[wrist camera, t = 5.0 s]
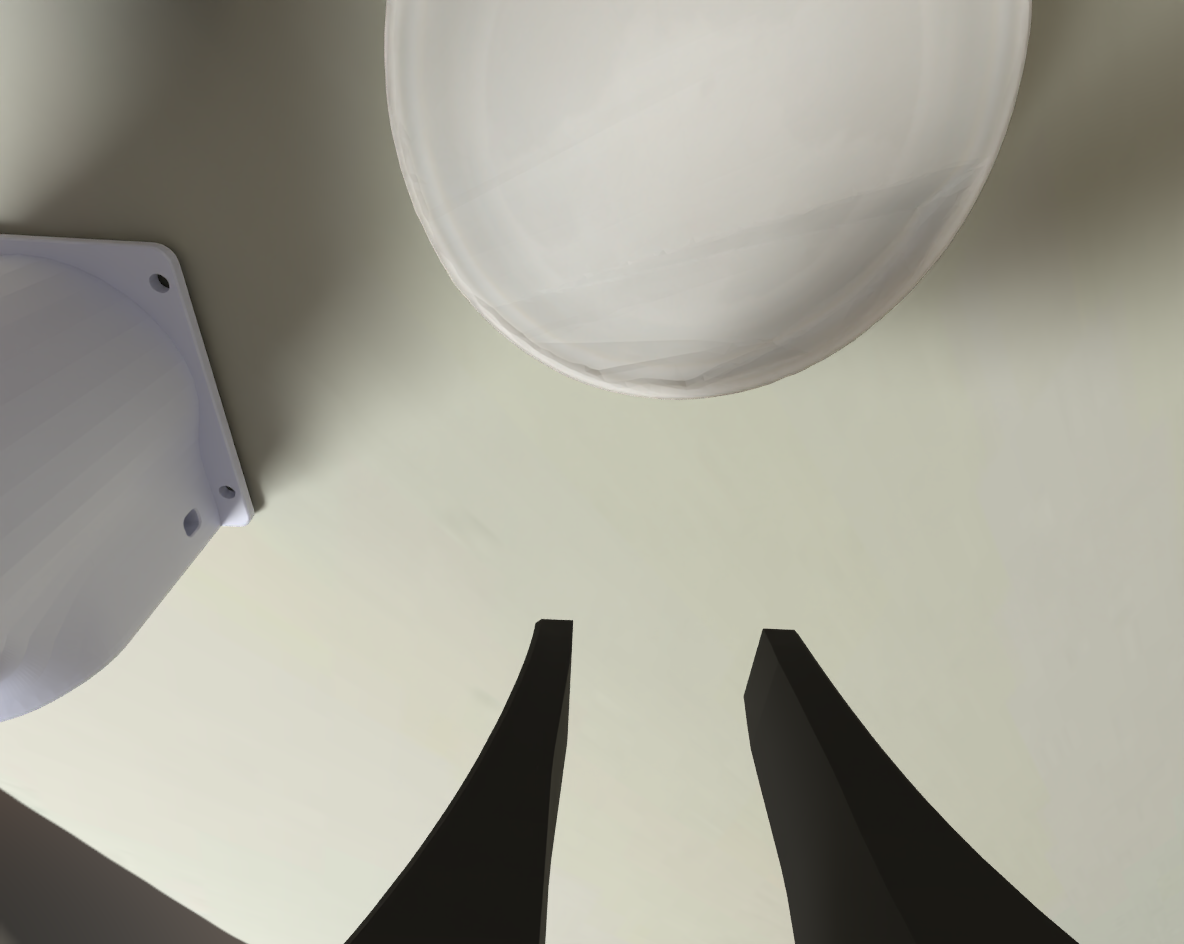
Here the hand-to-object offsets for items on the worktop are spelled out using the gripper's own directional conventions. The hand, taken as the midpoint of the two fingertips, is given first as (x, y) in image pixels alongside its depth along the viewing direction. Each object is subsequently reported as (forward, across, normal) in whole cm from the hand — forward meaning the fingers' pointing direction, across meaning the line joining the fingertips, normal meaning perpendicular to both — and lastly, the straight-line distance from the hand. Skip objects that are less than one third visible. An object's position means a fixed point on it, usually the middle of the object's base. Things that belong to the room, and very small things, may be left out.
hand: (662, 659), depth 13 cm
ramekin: (+10, 0, -9) cm, 13 cm away
